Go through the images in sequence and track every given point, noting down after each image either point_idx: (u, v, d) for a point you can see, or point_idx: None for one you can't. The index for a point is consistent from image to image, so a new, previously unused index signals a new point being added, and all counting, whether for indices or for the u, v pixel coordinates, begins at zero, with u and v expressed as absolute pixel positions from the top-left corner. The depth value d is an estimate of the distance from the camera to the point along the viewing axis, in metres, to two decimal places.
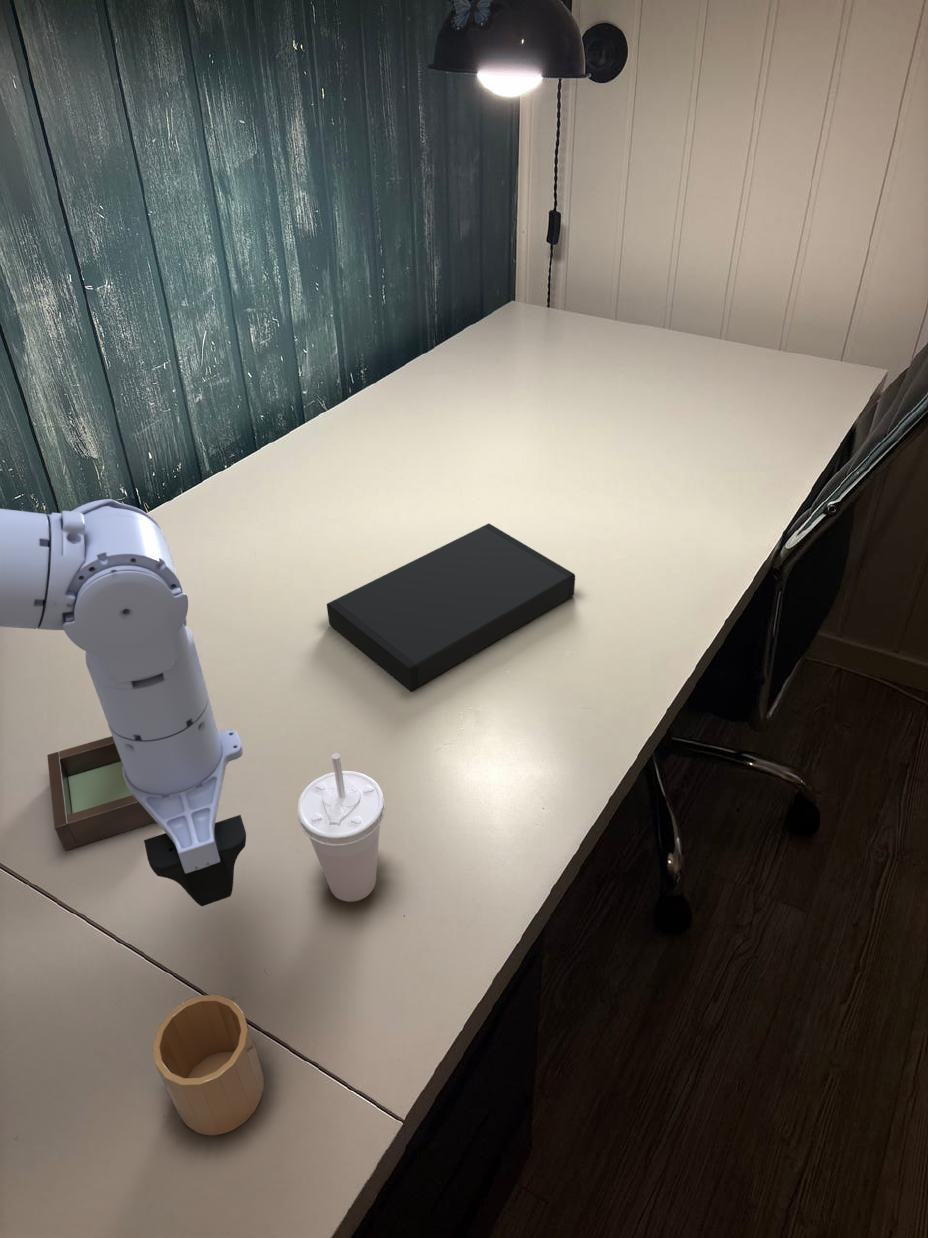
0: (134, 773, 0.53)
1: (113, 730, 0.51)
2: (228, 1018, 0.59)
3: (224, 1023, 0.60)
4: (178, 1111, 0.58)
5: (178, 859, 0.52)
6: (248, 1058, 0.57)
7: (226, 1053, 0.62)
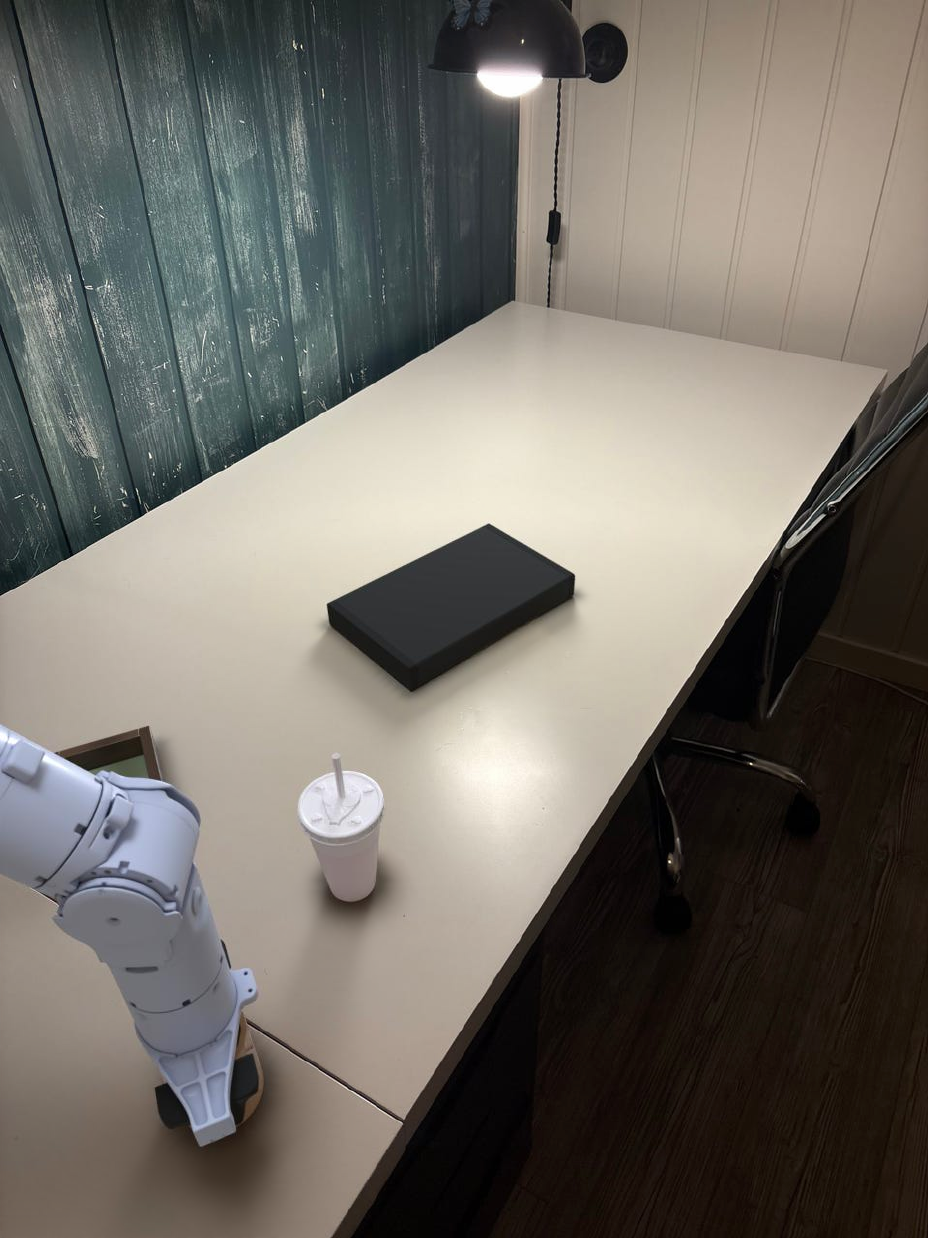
0: (146, 1035, 0.51)
1: (125, 998, 0.49)
2: None
3: None
4: None
5: None
6: None
7: None
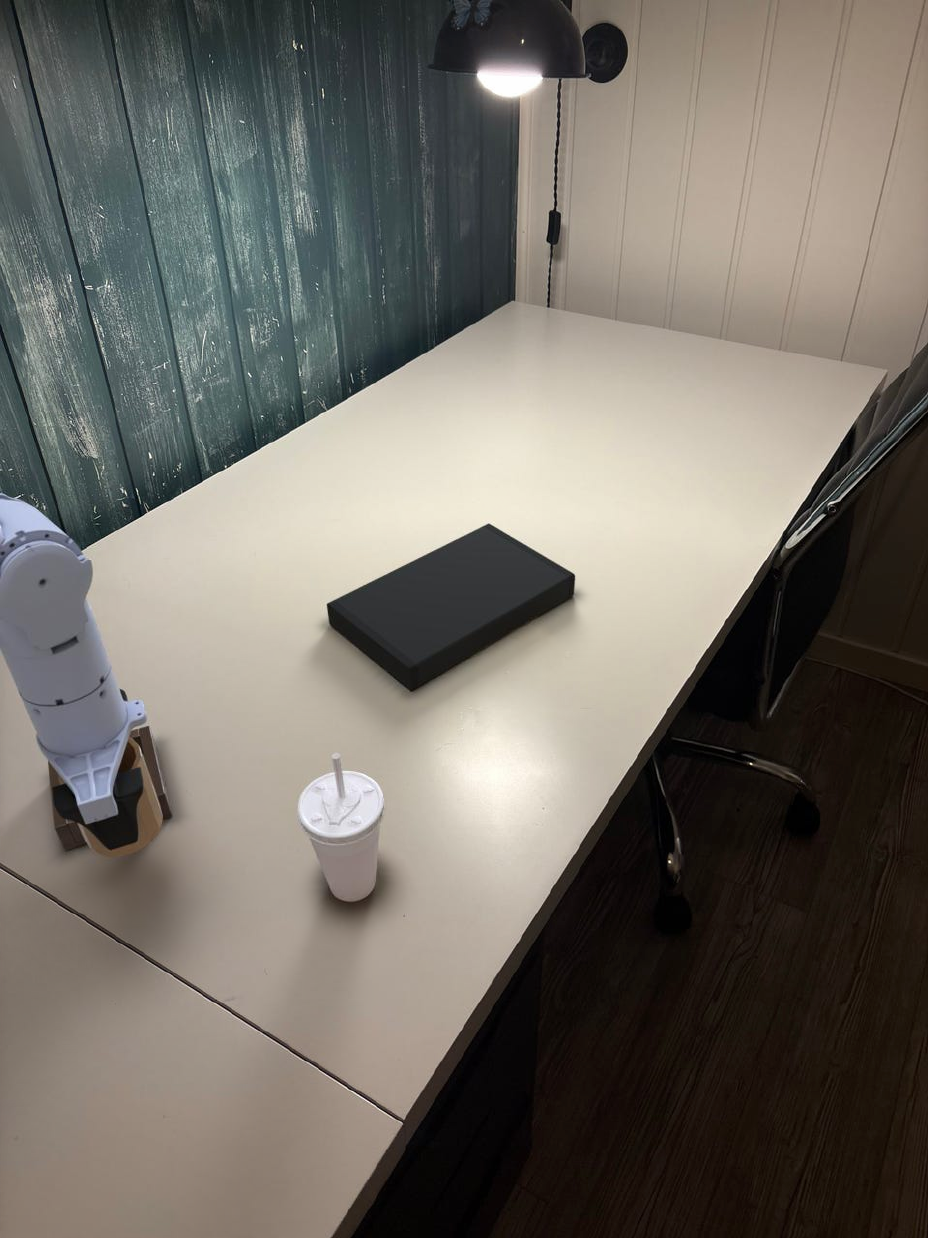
0: (43, 736, 0.59)
1: (22, 696, 0.58)
2: (128, 756, 0.67)
3: (126, 764, 0.68)
4: (83, 835, 0.67)
5: None
6: None
7: None
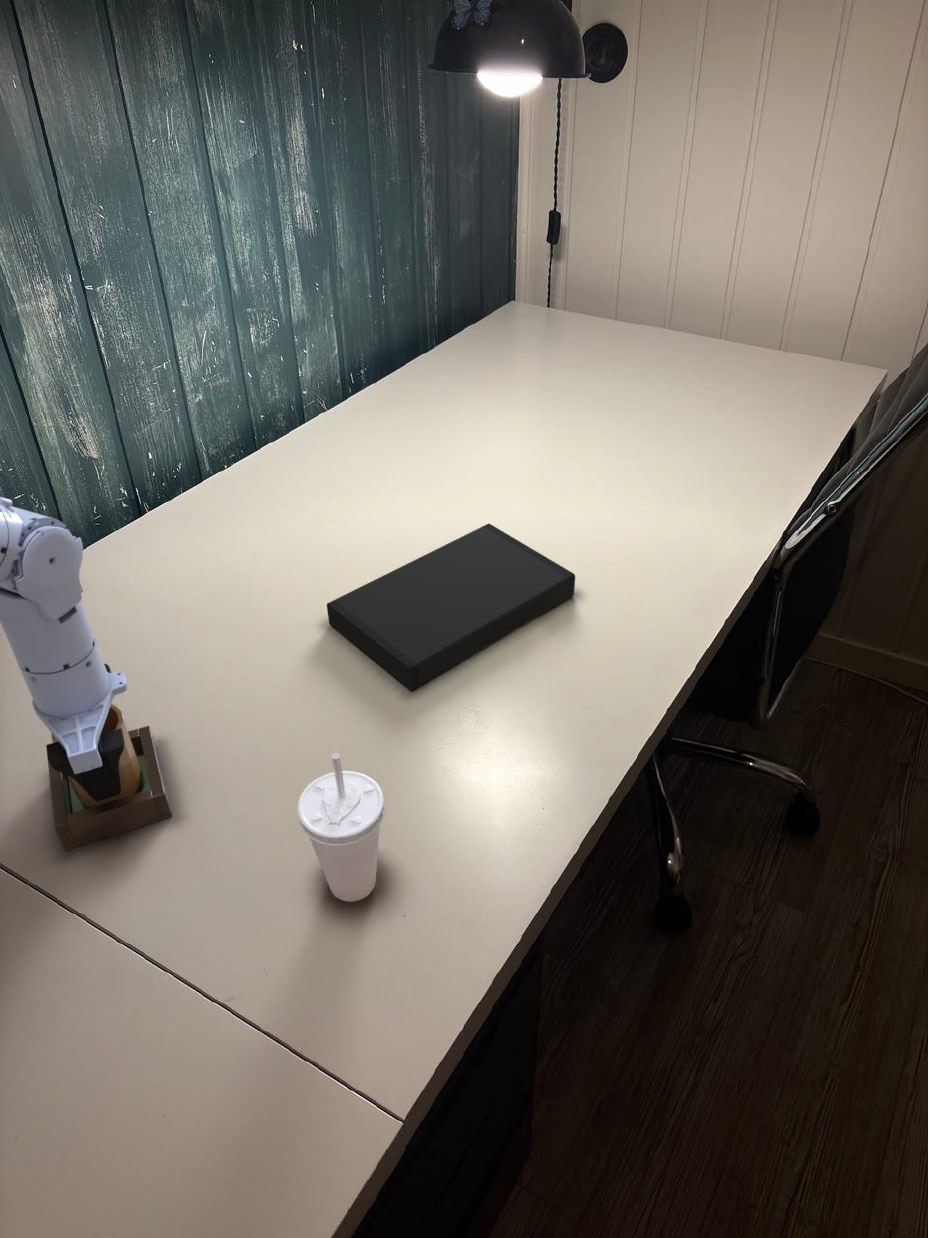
0: (38, 700, 0.70)
1: (20, 666, 0.68)
2: (112, 721, 0.78)
3: (111, 728, 0.79)
4: (74, 789, 0.77)
5: None
6: (124, 743, 0.76)
7: None
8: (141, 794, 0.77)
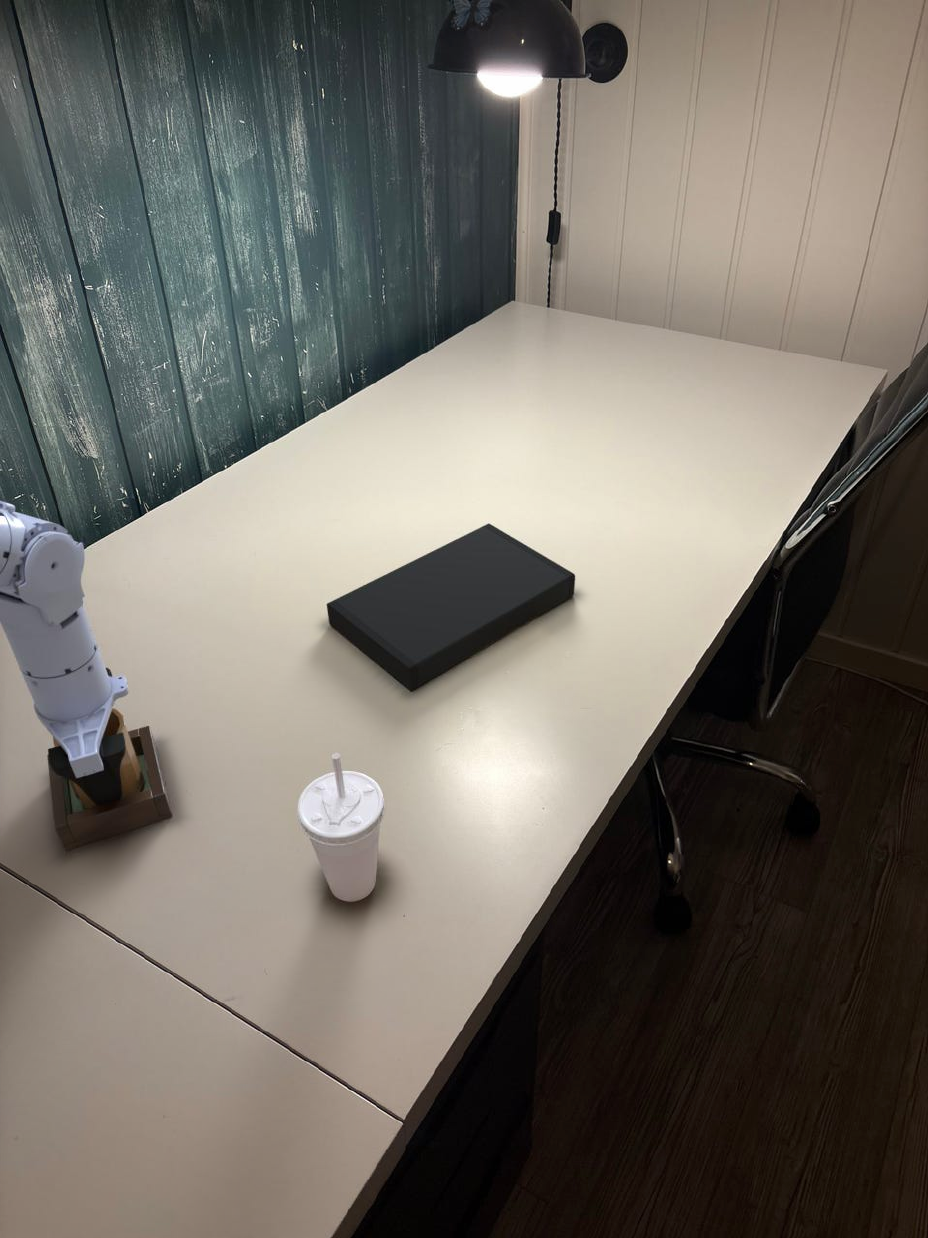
0: (40, 704, 0.70)
1: (22, 670, 0.68)
2: (113, 725, 0.78)
3: (112, 732, 0.79)
4: (75, 793, 0.77)
5: None
6: None
7: None
8: (141, 794, 0.77)
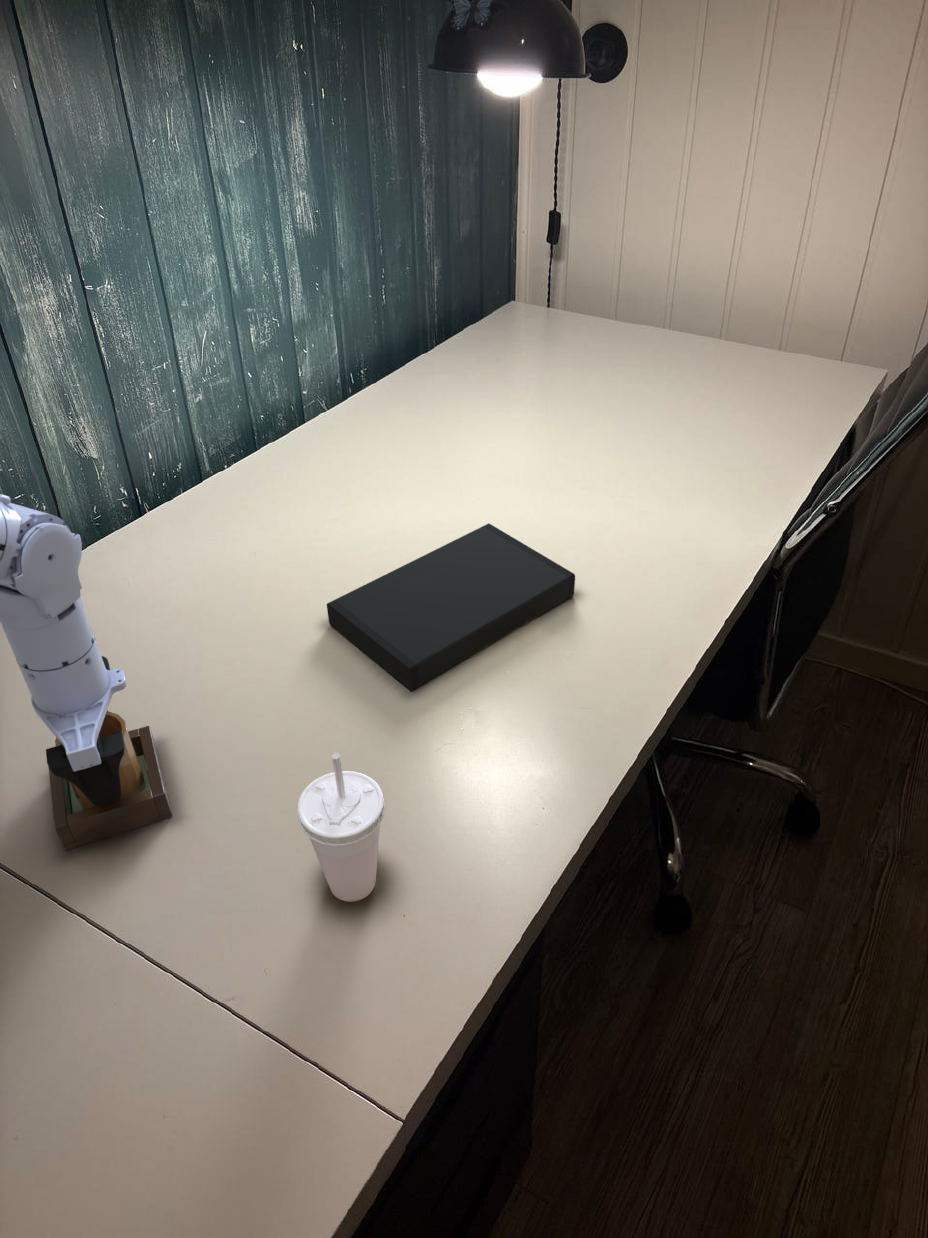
0: (37, 698, 0.70)
1: (19, 663, 0.68)
2: (115, 730, 0.78)
3: None
4: (77, 797, 0.78)
5: (70, 762, 0.69)
6: (127, 752, 0.76)
7: None
8: (141, 794, 0.77)
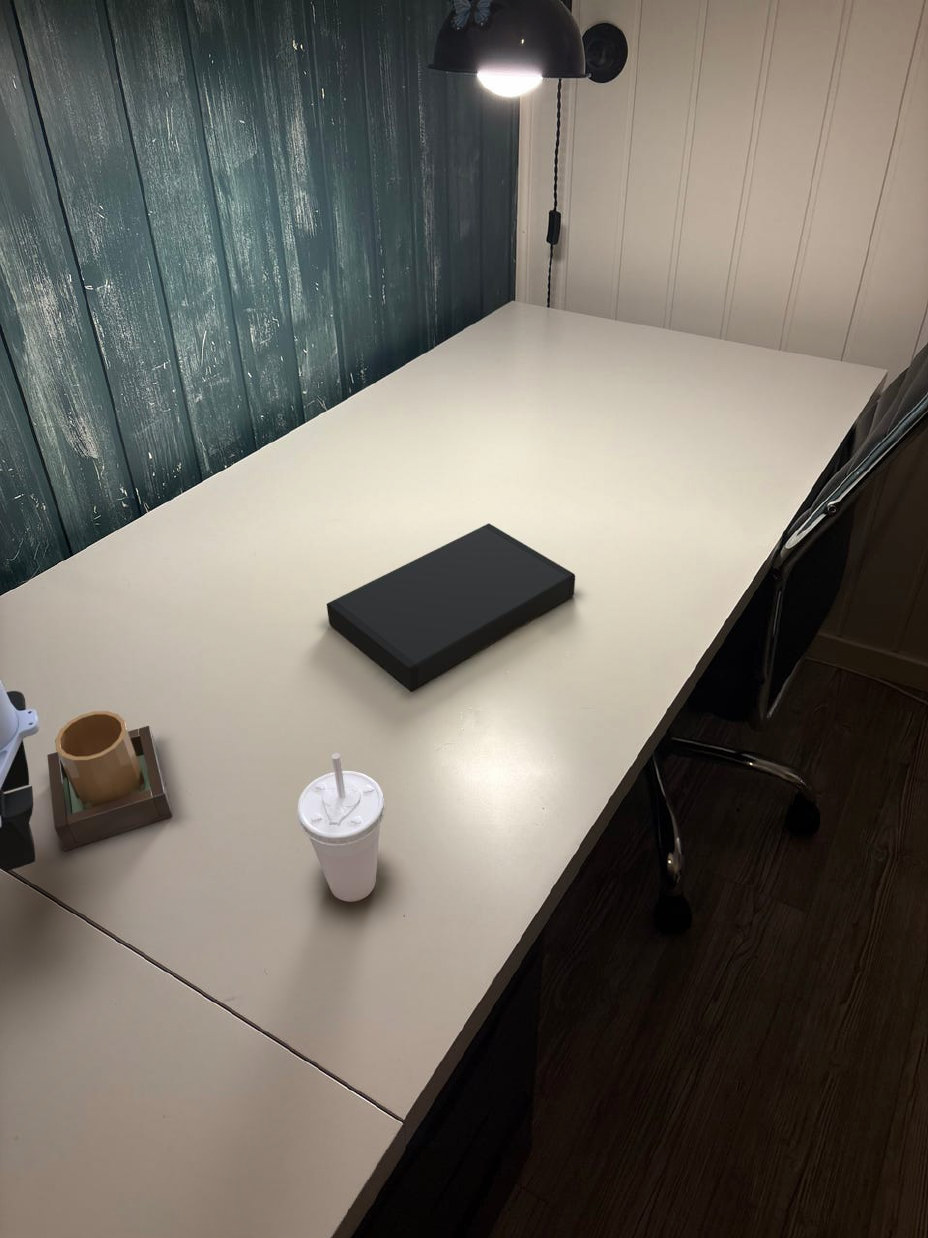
0: None
1: None
2: (115, 730, 0.78)
3: (114, 737, 0.79)
4: (77, 797, 0.78)
5: None
6: (127, 752, 0.76)
7: None
8: (141, 794, 0.77)
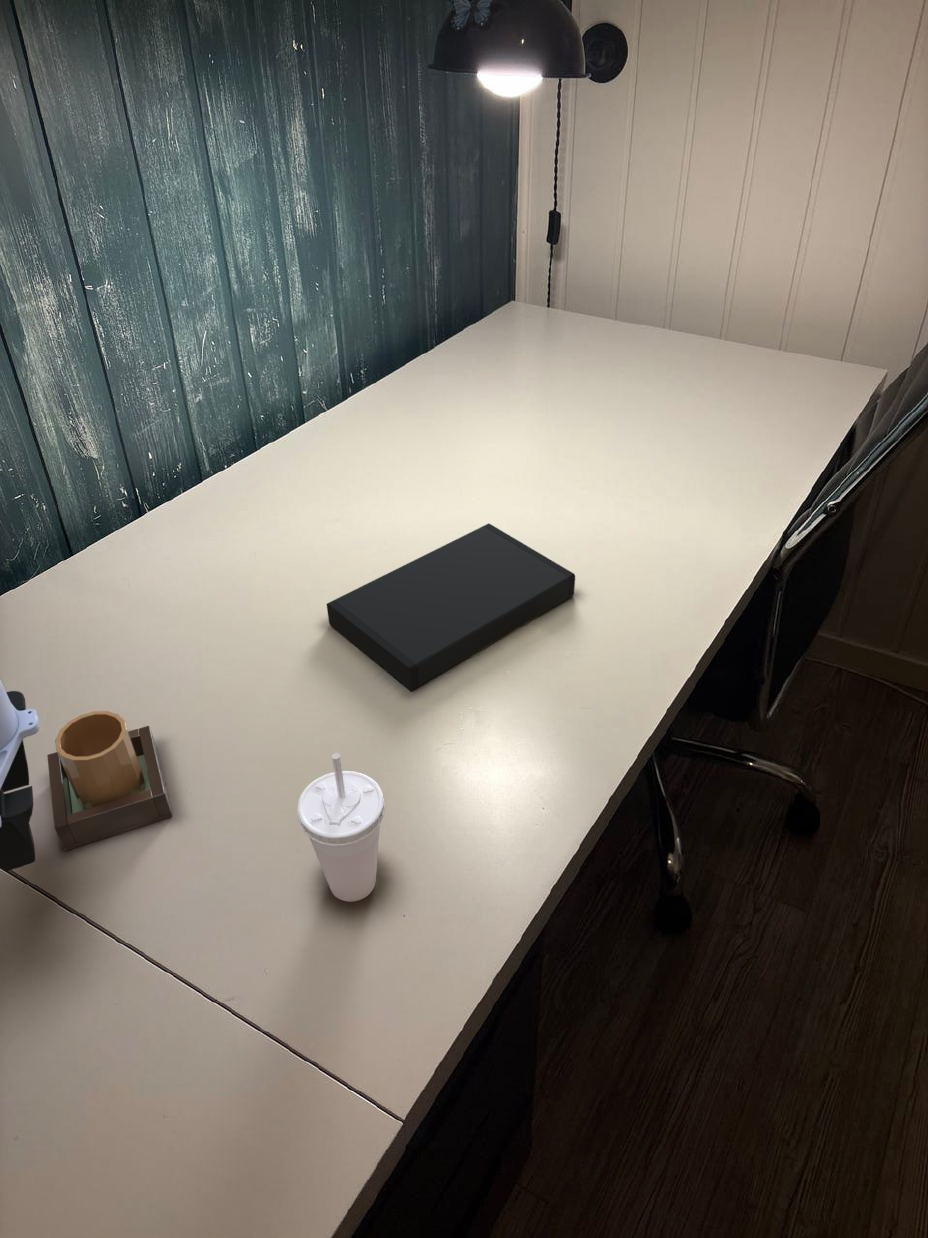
0: None
1: None
2: (115, 730, 0.78)
3: (114, 737, 0.79)
4: (77, 797, 0.78)
5: None
6: (127, 752, 0.76)
7: None
8: (141, 794, 0.77)
